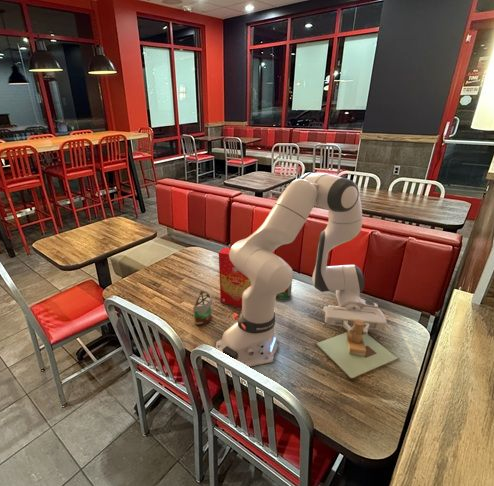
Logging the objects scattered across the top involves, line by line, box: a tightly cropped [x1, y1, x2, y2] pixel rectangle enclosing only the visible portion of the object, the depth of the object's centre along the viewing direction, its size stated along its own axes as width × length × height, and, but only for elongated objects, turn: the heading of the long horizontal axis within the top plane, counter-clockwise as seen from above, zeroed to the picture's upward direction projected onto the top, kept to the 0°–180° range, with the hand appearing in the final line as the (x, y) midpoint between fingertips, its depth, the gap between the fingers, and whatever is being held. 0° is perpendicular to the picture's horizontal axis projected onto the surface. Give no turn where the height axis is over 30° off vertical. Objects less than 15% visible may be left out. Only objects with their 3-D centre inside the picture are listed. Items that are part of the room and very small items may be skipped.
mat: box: [316, 332, 398, 379], centre depth 108 cm, size 20×17×1 cm
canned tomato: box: [275, 282, 293, 302], centre depth 138 cm, size 8×8×11 cm
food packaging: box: [218, 247, 251, 308], centre depth 132 cm, size 15×5×25 cm, turn 66°
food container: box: [192, 289, 213, 326], centre depth 127 cm, size 12×6×10 cm, turn 168°
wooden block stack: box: [345, 319, 366, 356], centre depth 107 cm, size 9×5×10 cm, turn 167°
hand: (358, 332), depth 105 cm, fingers closed on wooden block stack, 3 cm apart
